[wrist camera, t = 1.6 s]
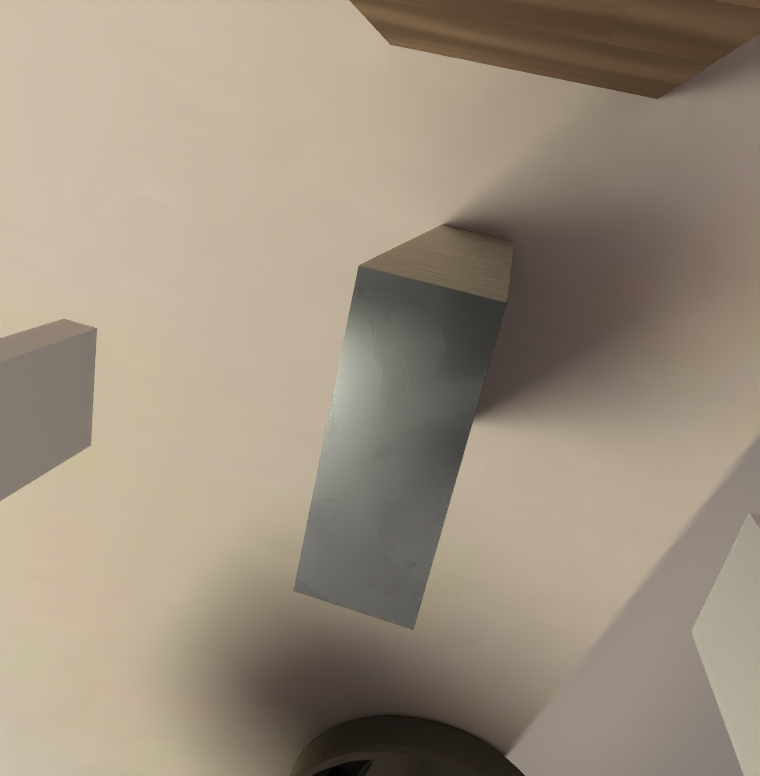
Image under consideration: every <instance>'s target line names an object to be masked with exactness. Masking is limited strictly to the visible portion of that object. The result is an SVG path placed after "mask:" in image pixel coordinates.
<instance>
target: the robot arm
mask: <svg viewBox="0 0 760 776" xmlns="http://www.w3.org/2000/svg"><path fill="white" fill-rule="evenodd" d="M96 334H97V328H94V327H91V326H87V325H84V324H80V323H77V322H73V321H69V320H66V319H62V320H59V321H56V322H52V323H49V324H46V325H43V326H39V327H36V328H33V329H29V330H26V331H23V332H20V333H16V334H13V335H10V336H6V337H3V338H0V501H1V500H3V499H4V498H6V497H7V496H9V495H11V494H12V493H14V492H16V491H17V490H19V489H20V488H22V487H24V486H25V485H27V484H29V483H30V482H32V481H34V480H35V479H37V478H38V477H40V476H42V475H43V474H45V473H47V472H48V471H50V470H51V469H53V468H55V467H56V466H58V465H60V464H61V463H63V462H64V461H66V460H68V459H69V458H71V457H73V456H74V455H76V454H77V453H79V452H81V451H82V450H84V449H86V448H87V447H89V446H90V445H91V431H92V412H93V392H94V373H95V354H96ZM691 632H692V635H693V638H694V640H695V643H696V646H697V649H698V651H699V654H700V657H701V660H702V662H703V665H704V668H705V670H706V673H707V676H708V679H709V681H710V684H711V686H712V690H713V692H714V695H715V697H716V701H717V703H718V706H719V709H720V712H721V714H722V717H723V719H724V722H725V725H726V728H727V731H728V733H729V736H730V739H731V742H732V744H733V747H734V750H735V753H736V755H737V758H738V761H739V763H740V766H741V769H742V772H743V774H744V776H760V515H756V514H753V513H749V514H748V516H747V518H746V520H745V522H744V524H743V526H742V528H741V531H740V533H739V534H738V537H737V539H736V541H735V543H734V545H733V547H732V549H731V551H730V553H729V555H728V557H727V559H726V561H725V563H724V565H723V567H722V569H721V572H720V574H719V576H718V578H717V580H716V582H715V584H714V586H713V588H712V590H711V592H710V594H709V596H708V599H707V600H706V602H705V604H704V607H703V609H702V611H701V613H700V615H699V617H698V619H697V621H696V623H695V625H694V627H693V629H692V631H691ZM290 776H525V775H524V774H523V773H522V772H521V771H520V770H519V769H518V768H517V767H515V766H514V765H513V764H512V763H511V762H510V761H509V760H508V759H507V758H505V757H504V756H503V755H501V754H500V753H499V752H497V751H496V750H494V749H493V748H491V747H490V746H488V745H486V744H485V743H483V742H481V741H480V740H478V739H476V738H474V737H472V736H470V735H468V734H465V733H463V732H461V731H459V730H456V729H453V728H451V727H448V726H445V725H441V724H438V723H434V722H430V721H426V720H421V719H415V718H407V717H372V718H365V719H360V720H355V721H351V722H348V723H345V724H342V725H339V726H337V727H335V728H332V729H330V730H329V731H327V732H325V733H323V734H322V735H320V736H319V737H317V738H316V739H315V740H314V741H313V742H311V743H310V744H309V745H308V746H307V747H306V748H305V750H304V751H303V752H302V753H301V755H300V756H299V758H298V759H297V761H296V763H295V765H294V767H293V769H292V772H291V775H290Z"/></svg>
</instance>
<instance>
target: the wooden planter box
mask: <svg viewBox="0 0 760 776" xmlns="http://www.w3.org/2000/svg"><path fill="white" fill-rule="evenodd" d="M350 1H351V2H352V4H353V5H354V6H355V7H356V8H357V9H358V10H359V11H360V12H361V13H362V14H363V15H364V17H365V18H366V19H367V20H368V21H369V22H370V23H371V24H372V25H373V26H374V27H375V28H376V30H377V31H378V32H379V33H380V34H381V35H382V36H383V37H384V38H385V39H386V40H387V41H388V43H389V44H390V45H395V46H400V47H405V48H410V49H415V50H420V51H425V52H430V53H435V54H440V55H445V56H449V57H454V58H459V59H464V60H469V61H474V62H479V63H484V64H489V65H494V66H499V67H504V68H508V69H513V70H518V71H523V72H528V73H533V74H538V75H543V76H548V77H553V78H558V79H563V80H567V81H572V82H577V83H582V84H587V85H592V86H597V87H602V88H607V89H612V90H617V91H622V92H626V93H631V94H636V95H641V96H646V97H651V98H656V99H658V98H659V97H661V96H662V95H664V94H665V93H667V92H669V91H670V90H672V89H673V88H675V87H676V86H678V85H679V84H681V83H683V82H684V81H686V80H687V79H689V78H690V77H692V76H694V75H695V74H697V73H698V72H700V71H701V70H703V69H705V68H706V67H708V66H709V65H711V64H712V63H714V62H715V61H717V60H719V59H720V58H722V57H723V56H725V55H726V54H728V53H730V52H731V51H733V50H734V49H736V48H737V47H739V46H741V45H742V44H744V43H745V42H747V41H748V40H750V39H752V38H753V37H755V36H756V35H758V34H759V33H760V0H350Z"/></svg>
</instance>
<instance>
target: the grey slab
mask: <svg viewBox="0 0 760 776" xmlns="http://www.w3.org/2000/svg"><path fill="white" fill-rule="evenodd" d="M513 250H514V242H512V241H508V240H503V239H499V238H495V237H491V236H487V235H482V234H478V233H474V232H470V231H466V230H461V229H457V228H453V227H449V226H445V225H440V226H438V227H436V228H434V229H432V230H430V231H428V232H426V233H424V234H422V235H420V236H418V237H416V238H414V239H412V240H410V241H407V242H405V243H403V244H401V245H399V246H397V247H395V248H393V249H391V250H389V251H387V252H385V253H383V254H381V255H379V256H377V257H375V258H373V259H371V260H369V261H367V262H365V263H363V264H361V265H359V267H358V272H357V277H356V282H355V287H354V292H353V297H352V302H351V307H350V312H349V317H348V322H347V327H346V332H345V337H344V342H343V347H342V352H341V357H340V362H339V367H338V372H337V377H336V382H335V387H334V392H333V397H332V402H331V407H330V412H329V417H328V422H327V427H326V432H325V437H324V442H323V447H322V452H321V457H320V462H319V467H318V472H317V477H316V482H315V487H314V492H313V497H312V502H311V507H310V512H309V517H308V522H307V527H306V532H305V537H304V542H303V547H302V552H301V557H300V562H299V567H298V572H297V577H296V582H295V587H294V591H296V592H299V593H302V594H305V595H308V596H311V597H314V598H317V599H320V600H324V601H327V602H330V603H333V604H336V605H339V606H342V607H345V608H348V609H351V610H354V611H357V612H360V613H363V614H366V615H370V616H373V617H376V618H379V619H382V620H385V621H388V622H391V623H394V624H397V625H400V626H403V627H406V628H409V629H412V630H413V628H414V625H415V622H416V618H417V615H418V611H419V608H420V604H421V601H422V597H423V594H424V590H425V587H426V583H427V580H428V576H429V573H430V569H431V566H432V562H433V559H434V555H435V552H436V548H437V545H438V541H439V538H440V534H441V531H442V527H443V524H444V520H445V517H446V514H447V510H448V507H449V503H450V500H451V496H452V493H453V489H454V486H455V482H456V479H457V475H458V472H459V468H460V465H461V461H462V458H463V454H464V451H465V447H466V444H467V440H468V437H469V433H470V430H471V426H472V423H473V419H474V416H475V412H476V409H477V406H478V402H479V399H480V395H481V392H482V388H483V385H484V381H485V378H486V374H487V371H488V367H489V364H490V360H491V357H492V353H493V350H494V346H495V343H496V339H497V336H498V332H499V329H500V325H501V322H502V318H503V315H504V311H505V308H506V304H507V299H508V291H509V282H510V274H511V266H512V258H513Z"/></svg>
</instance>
